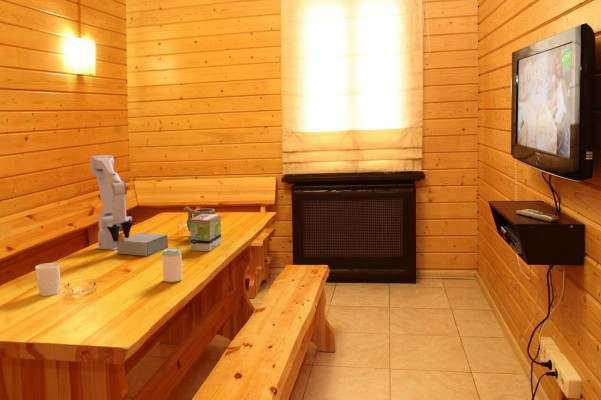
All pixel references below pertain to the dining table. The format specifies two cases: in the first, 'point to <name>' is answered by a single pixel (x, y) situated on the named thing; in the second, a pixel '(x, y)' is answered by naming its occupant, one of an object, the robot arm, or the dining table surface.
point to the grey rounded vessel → (197, 213)
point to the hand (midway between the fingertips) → (121, 239)
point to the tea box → (205, 232)
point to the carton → (151, 241)
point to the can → (172, 265)
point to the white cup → (48, 278)
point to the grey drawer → (131, 246)
